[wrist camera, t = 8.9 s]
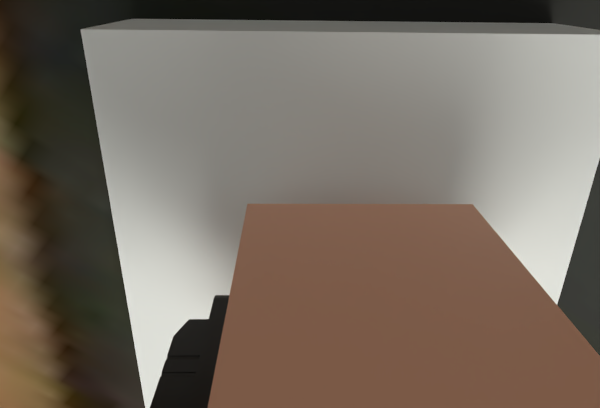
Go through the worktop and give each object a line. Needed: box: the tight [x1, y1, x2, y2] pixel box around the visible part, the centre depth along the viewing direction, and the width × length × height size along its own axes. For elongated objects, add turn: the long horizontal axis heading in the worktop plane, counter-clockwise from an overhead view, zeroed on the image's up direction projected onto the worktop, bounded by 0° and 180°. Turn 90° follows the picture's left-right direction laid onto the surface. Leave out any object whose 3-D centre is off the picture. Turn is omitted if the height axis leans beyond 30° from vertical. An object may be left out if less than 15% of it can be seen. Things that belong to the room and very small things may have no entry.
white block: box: [81, 19, 600, 408], centre depth 15 cm, size 12×12×4 cm
